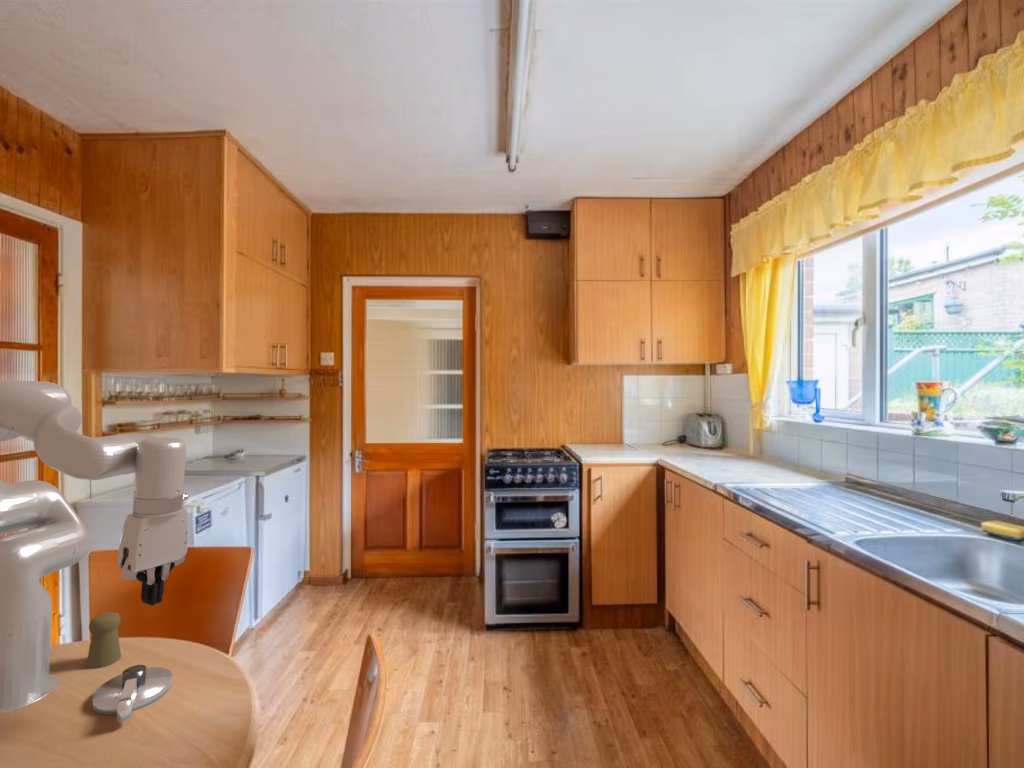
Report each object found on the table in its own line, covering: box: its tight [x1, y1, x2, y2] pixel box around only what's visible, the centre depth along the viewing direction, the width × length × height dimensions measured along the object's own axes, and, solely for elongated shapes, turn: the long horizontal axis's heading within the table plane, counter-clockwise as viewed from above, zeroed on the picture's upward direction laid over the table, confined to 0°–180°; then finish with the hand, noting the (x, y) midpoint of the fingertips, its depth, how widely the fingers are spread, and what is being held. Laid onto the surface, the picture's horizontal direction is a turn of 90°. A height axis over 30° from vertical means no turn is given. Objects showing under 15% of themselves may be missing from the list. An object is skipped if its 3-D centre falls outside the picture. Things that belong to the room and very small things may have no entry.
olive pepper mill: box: [86, 611, 122, 670], centre depth 104 cm, size 6×6×11 cm
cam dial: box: [92, 664, 173, 723], centre depth 91 cm, size 17×12×4 cm
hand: (151, 602), depth 90 cm, fingers closed
